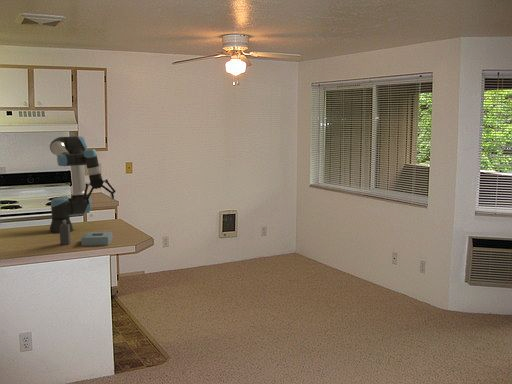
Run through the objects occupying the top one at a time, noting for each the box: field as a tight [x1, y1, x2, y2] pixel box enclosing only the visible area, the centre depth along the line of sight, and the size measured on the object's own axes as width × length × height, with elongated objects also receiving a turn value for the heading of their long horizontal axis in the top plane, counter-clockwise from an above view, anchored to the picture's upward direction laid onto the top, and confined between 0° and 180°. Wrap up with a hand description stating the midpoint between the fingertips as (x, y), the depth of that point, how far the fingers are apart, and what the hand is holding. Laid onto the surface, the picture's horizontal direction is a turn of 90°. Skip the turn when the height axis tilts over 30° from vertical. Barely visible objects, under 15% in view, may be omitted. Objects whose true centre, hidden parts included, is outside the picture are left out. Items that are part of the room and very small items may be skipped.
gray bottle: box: [59, 220, 72, 246], centre depth 358 cm, size 5×5×15 cm
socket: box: [80, 231, 114, 247], centre depth 362 cm, size 16×16×5 cm
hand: (102, 206), depth 367 cm, fingers open, 13 cm apart
